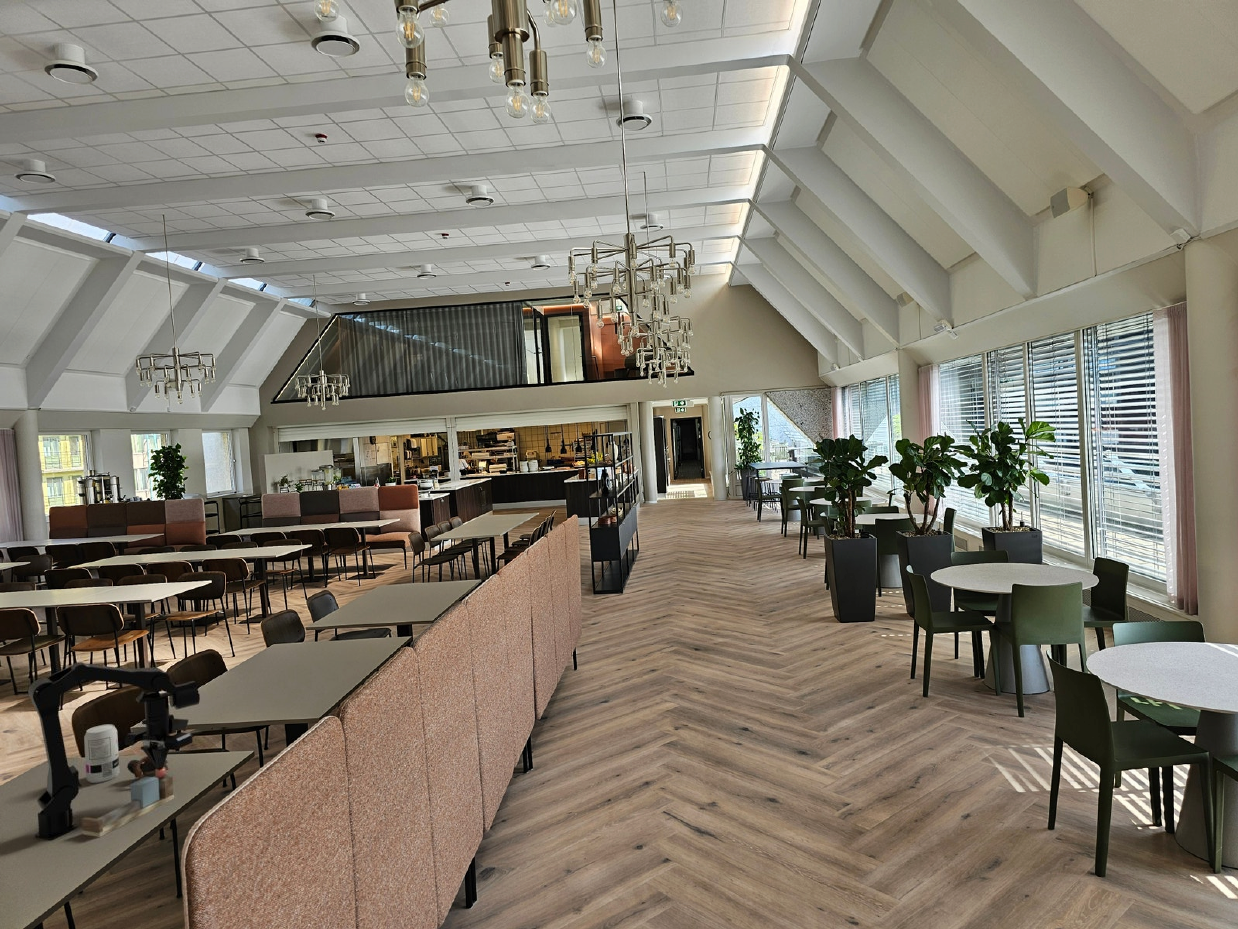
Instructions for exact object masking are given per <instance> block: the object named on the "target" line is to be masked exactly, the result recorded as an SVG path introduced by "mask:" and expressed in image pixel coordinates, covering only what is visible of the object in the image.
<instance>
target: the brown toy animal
mask: <svg viewBox="0 0 1238 929" xmlns="http://www.w3.org/2000/svg"><path fill="white" fill-rule="evenodd" d="M168 763H169V761H168V760H167V759H166V760H165V764H164V767H165V770H166V771H169V769H170V768H169V767H168V766H169V765H167V764H168ZM126 768H127V770H128V771H129V772H130V773H131V774H133V775H134V778H136V779H137V778H138V780H140V779H142V778H145V777H154V776H156V772H155V770H156V769H157V768H156V767H155V765H154V764H153V762H152V761H151V760H150V758H149V757H148V756H147V755H145V756H143V757H141V759H139V760H138V759H132V760H130V761H129V762H128V763H127V766H126Z"/></svg>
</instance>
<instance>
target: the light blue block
mask: <svg viewBox="0 0 1238 929" xmlns="http://www.w3.org/2000/svg"><path fill="white" fill-rule="evenodd" d="M129 785H130V786H129V787H130V802H132V801H134V800H141V807H142V808H144V807H146V806H148V805H150V804H152V803H153V802H155V801H157V800H159V782H158V778H155V777H145V778H142V779H140V780H139V779H138V780H137V781H134V782H131V783H130V784H129Z"/></svg>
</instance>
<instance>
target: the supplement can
mask: <svg viewBox="0 0 1238 929" xmlns="http://www.w3.org/2000/svg"><path fill="white" fill-rule="evenodd" d="M118 737H119V735H118V730H117V728H116V727H115V725H114V724H110V723H109V724H101V725H97V726H93V727H91V728H89V729H87V730H86V733H85V734H84V737H83V739H84V757H85V758H84V759H85V773H86V775H85V776H86V781H88V782H89V783H92V784H97V783H99V784H100V783H103V782H108V781H111V780H113V779H115V778H116V777H117V776H118V775H119V773H120V759H119V758H120V757H119V756H120V755H119V741H118V739H119V738H118ZM114 777H115V778H114Z"/></svg>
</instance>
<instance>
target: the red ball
mask: <svg viewBox="0 0 1238 929" xmlns="http://www.w3.org/2000/svg"><path fill="white" fill-rule="evenodd" d="M166 771H167V770H165V767H163V769H161V770H157V769H156V770H155V772H156V778H162V777H164V776H166V775H167V774H166V773H167V772H166Z"/></svg>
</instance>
